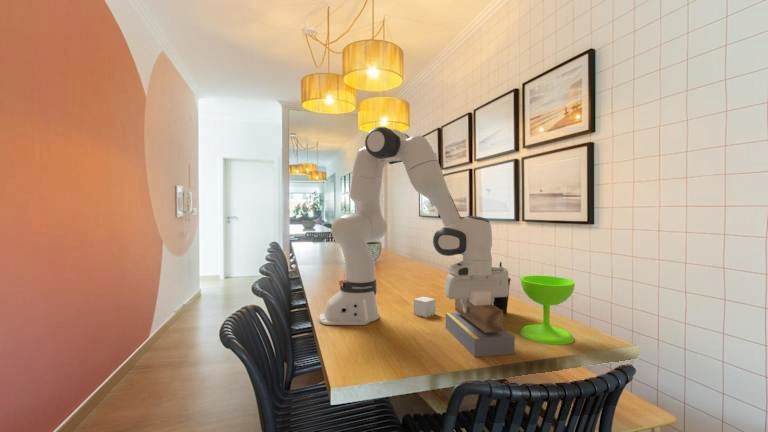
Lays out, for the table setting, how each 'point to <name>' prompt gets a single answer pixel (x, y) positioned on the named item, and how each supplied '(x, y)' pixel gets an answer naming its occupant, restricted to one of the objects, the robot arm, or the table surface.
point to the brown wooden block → (482, 316)
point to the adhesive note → (424, 306)
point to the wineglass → (547, 307)
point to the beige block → (480, 297)
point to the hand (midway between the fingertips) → (476, 311)
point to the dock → (479, 337)
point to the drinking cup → (502, 299)
